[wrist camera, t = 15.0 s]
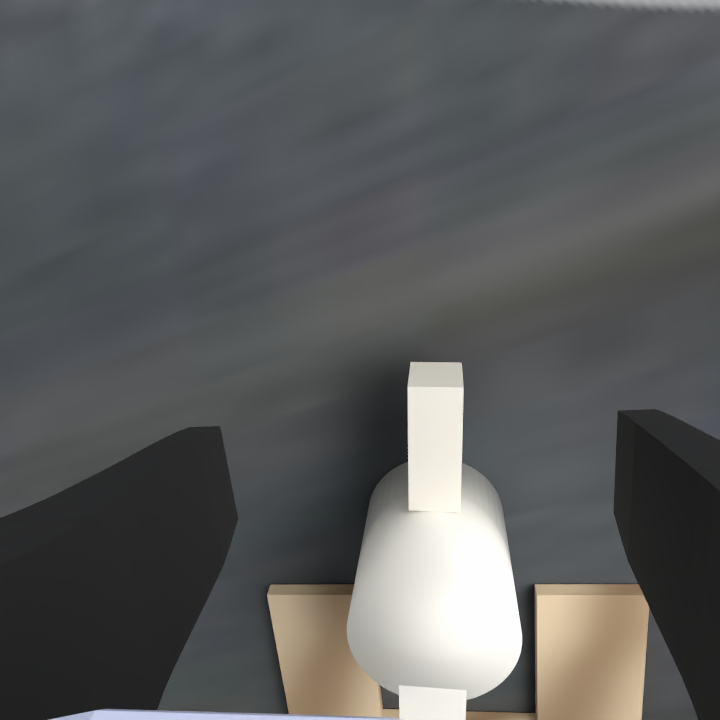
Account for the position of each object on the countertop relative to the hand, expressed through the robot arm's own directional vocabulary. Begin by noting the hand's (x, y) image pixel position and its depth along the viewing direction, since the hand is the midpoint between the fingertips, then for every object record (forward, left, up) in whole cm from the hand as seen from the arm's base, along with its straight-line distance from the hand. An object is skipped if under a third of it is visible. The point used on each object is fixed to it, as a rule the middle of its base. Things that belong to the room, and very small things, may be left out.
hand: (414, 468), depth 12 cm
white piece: (0, +6, -10) cm, 12 cm away
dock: (0, +16, -10) cm, 19 cm away
